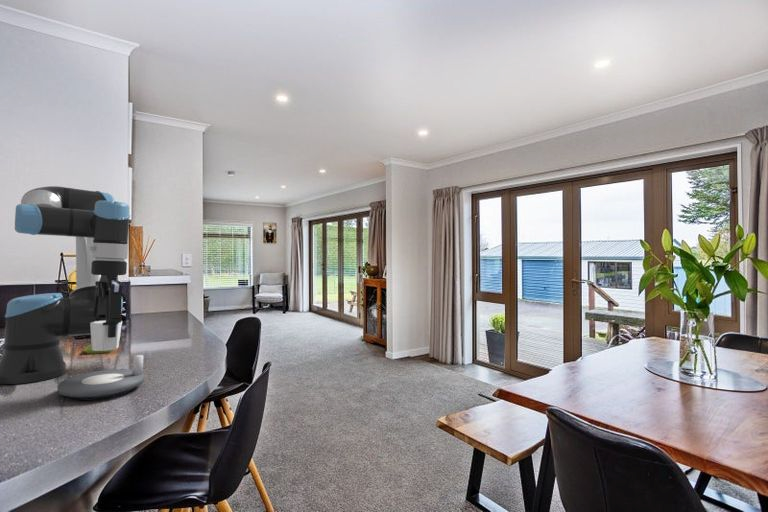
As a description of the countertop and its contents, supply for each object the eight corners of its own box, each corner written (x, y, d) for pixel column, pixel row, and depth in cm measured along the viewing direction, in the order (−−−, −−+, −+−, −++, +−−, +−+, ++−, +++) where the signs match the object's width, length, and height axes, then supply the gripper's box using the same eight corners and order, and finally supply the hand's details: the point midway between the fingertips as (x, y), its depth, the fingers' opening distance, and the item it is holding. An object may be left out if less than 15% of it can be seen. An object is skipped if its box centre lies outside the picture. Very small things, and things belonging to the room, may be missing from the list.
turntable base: (56, 397, 92) (56, 392, 92) (100, 381, 105) (100, 376, 105) (106, 401, 91) (106, 395, 91) (144, 384, 104) (144, 379, 104)
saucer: (82, 355, 132) (83, 349, 132) (89, 350, 139) (89, 344, 139) (112, 354, 135) (113, 348, 135) (117, 348, 143) (117, 343, 143)
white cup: (108, 351, 95) (109, 324, 95) (81, 350, 95) (83, 323, 95) (127, 345, 102) (128, 320, 102) (102, 345, 102) (103, 319, 102)
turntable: (57, 381, 99) (59, 357, 99) (138, 371, 111) (139, 349, 111) (57, 402, 85) (59, 374, 86) (149, 387, 97) (150, 362, 97)
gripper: (82, 258, 102) (77, 343, 102) (103, 260, 90) (98, 356, 89) (114, 259, 108) (110, 339, 107) (139, 261, 95) (134, 351, 95)
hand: (105, 347), depth 98 cm, fingers closed on white cup, 7 cm apart
